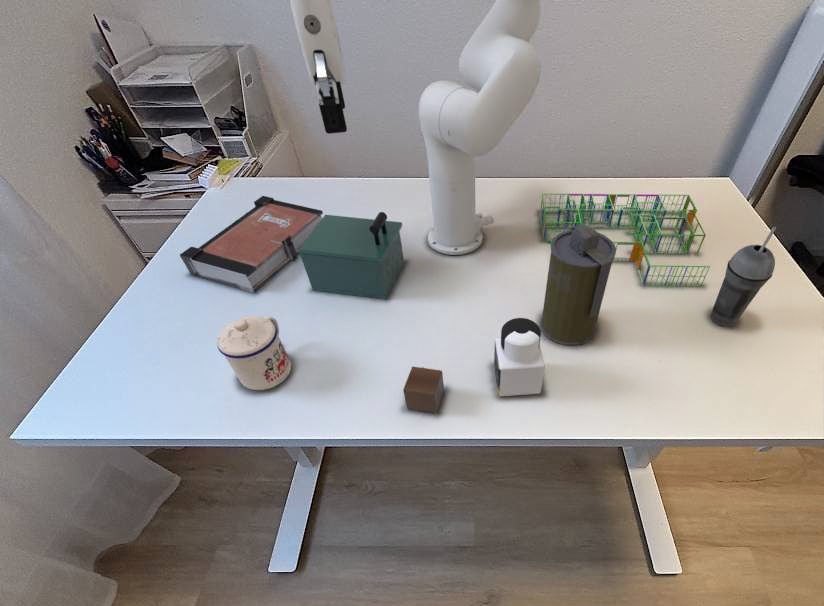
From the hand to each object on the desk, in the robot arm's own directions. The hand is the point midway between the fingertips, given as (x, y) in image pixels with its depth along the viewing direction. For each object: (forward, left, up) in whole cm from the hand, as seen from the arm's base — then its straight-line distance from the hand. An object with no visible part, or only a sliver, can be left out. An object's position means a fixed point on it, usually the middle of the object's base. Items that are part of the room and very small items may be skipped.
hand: (336, 120), depth 73 cm
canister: (-24, +35, -31) cm, 53 cm away
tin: (+2, -2, -31) cm, 31 cm away
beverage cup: (-50, +50, -31) cm, 77 cm away
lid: (+2, -2, -22) cm, 22 cm away
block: (+7, +35, -31) cm, 47 cm away
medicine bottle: (-8, +40, -31) cm, 51 cm away
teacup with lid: (+26, +13, -31) cm, 42 cm away
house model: (-52, +21, -31) cm, 64 cm away
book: (+16, -23, -31) cm, 42 cm away
